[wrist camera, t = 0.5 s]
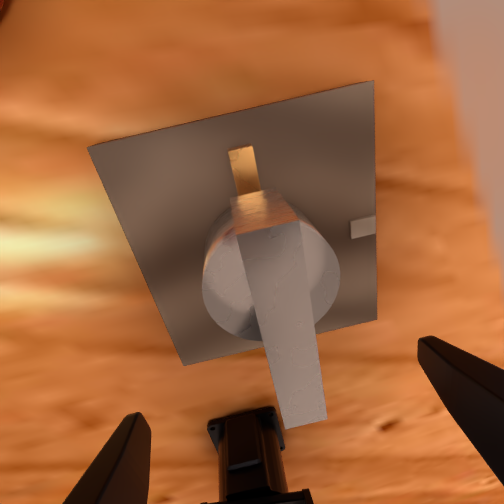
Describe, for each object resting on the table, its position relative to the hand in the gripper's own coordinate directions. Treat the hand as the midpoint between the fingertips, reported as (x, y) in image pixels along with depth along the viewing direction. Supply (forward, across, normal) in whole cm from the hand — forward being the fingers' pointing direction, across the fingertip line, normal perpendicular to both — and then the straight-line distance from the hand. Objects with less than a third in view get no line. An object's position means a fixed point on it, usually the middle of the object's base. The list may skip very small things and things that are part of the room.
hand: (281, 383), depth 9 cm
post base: (+12, -1, 0) cm, 12 cm away
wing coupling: (+10, -1, 0) cm, 10 cm away
